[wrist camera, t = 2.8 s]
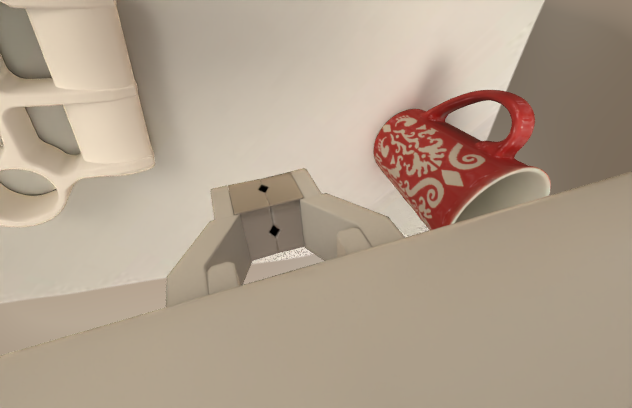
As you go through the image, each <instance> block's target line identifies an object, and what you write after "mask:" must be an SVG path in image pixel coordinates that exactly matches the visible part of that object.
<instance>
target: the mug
mask: <svg viewBox="0 0 632 408" xmlns="http://www.w3.org/2000/svg"><path fill="white" fill-rule="evenodd" d="M485 100H492V101H495V102H498V103H500V104H502V105H503V106H505V107H506V108H507V109H508V111H509V113H510V116H511V118H512V127H511V131H510V133H509V135H508V136H507V138H506V139H505V140H503V141H500V142H492V141H480V140H478V139H476V138H475V137H473V136H471V135H469V134H467V133H465V132H463V131H461V130H460V129H458V128H456V127H454V126H452V125H450V124H448V123H446V122H445V119H446V117H447V116H448V114H450V113H451V112H453V111H455V110H457V109H460V108H462V107H465V106H467V105H470V104H473V103H476V102H480V101H485ZM534 124H535V118H534V113H533V110H532V108H531V106H530V105H529V104H528V103H527V101H525V100H524V99H523V98H521V97H519V96H517V95H515V94H512V93H509V92H506V91H500V90H480V91H474V92H470V93H466V94H463V95H460V96H457V97H455V98H452V99H450V100H448V101H445V102H443V103H441V104H439V105H438V106H435V107H434V108H432V109H430V110H428V111H427V112H426V111H423V110H420V109H410V110H406V111H403V112H401V113H399V114H397V115H395V116H394V117H392V118H391V119H390V120H389V121H388V122H387V123H386V124H385V125H384V126H383V127H382V129H381V130H380V132H379V134H378V135H377V138H376V140H375V144H374V158H375V160H376V163H377V165H378V166H379V167H380V169H381V170H382V171H383V173H384V174H385V175H386V176H387V177H388V179H389V180H390V181H391V182H392V184H393V185H394V186H395V187H396V189H397V190H398V191H399V192H400V194H401V195H402V196H403V198H404V199H405V200H406V201H407V202H408V204H409V205H410V206H411V207H412V208H413V210H414V211H415V212H416V213H417V215H418V216H419V217H420V219H421V220H422V221H423V222H424V224H425V225H426V226H427V227H428V229H429V230H433V229H437V228H440V227H443V226H447V225H450V224H454V223H457V222H461V221H464V220H467V219H471V218H474V217H478V216H481V215H485V214H488V213H492V212H495V211H498V210H502V209H505V208H509V207H512V206H516V205H519V204H522V203H526V202H529V201H533V200H536V199H540V198H543V197H546V196H549V195H550V190H551V182H550V178H549V176H548V175H547V174H546V172H544V171H543V170H542V169H539V168H537V167H533V166H527V165H525V164H524V163H521V162H519V161H517V160H516V159H514V156H515V154H516V153H517V151H519V150H520V149H521V148H522V147H523V146H524V144H525V143H526V142H527V140H528V139H529V138H530V136H531V134H532V132H533V128H534Z"/></svg>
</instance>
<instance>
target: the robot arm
mask: <svg viewBox="0 0 632 408" xmlns="http://www.w3.org/2000/svg"><path fill="white" fill-rule="evenodd" d="M228 188H229V189H228ZM210 192H211V199H212V206H213V212H214V219H215V220H213V221H210V222H209V223H208V224H207V226H206V227H205V228H204V230H203V231H202V232H201V233H200V235H199V236H198V237H197V239H196V240H195V241H194V242H193V244H192V245H191V246H190V248H189V249H188V250H187V251H186V253H185V254H184V255H183V257H182V258H181V259H180V260H179V262H178V263H177V264H176V266H175V267H174V268H173V269H172V271H171V272H170V273H169V275H168V276H167V285H166V307H165V308H162V309H158V310H155V311H152V312H148V313H145V314H141V315H138V316H135V317H131V318H128V319H124V320H121V321H117V322H114V323H110V324H107V325H104V326H100V327H97V328H93V329H90V330H87V331H83V332H79V333H76V334H73V335H69V336H66V337H62V338H59V339H55V340H53V341H49V342H45V343H42V344H38V345H35V346H31V347H28V348H25V349H21V350H18V351H14V352H11V353H7V354H4V355H1V356H0V408H632V172H628V173H625V174H622V175H618V176H615V177H612V178H608V179H605V180H602V181H598V182H594V183H591V184H588V185H584V186H581V187H577V188H574V189H570V190H567V191H564V192H560V193H557V194H553V195H550V196H546V197H543V198H540V199H536V200H533V201H529V202H526V203H522V204H519V205H516V206H512V207H509V208H505V209H502V210H498V211H495V212H492V213H488V214H485V215H481V216H478V217H474V218H471V219H467V220H464V221H461V222H457V223H454V224H450V225H447V226H443V227H440V228H437V229H433V230H430V231H426V232H423V233H419V234H416V235H413V236H409V237H406V238H405V237H404V236H403V234H402V233H401V232H400V231H399V230H398V228H397V227H396V226H395V225H394V223H393V222H392V221H391V220H390V218H389V217H387V216H384V215H382V214H379V213H377V212H374V211H371V210H369V209H366V208H364V207H361V206H358V205H356V204H353V203H351V202H348V201H345V200H343V199H340V198H338V197H335V196H332V195H330V194H327V193H324V194H321V192H320V190H319V189H318V187H317V186H316V184H315V182H314V181H313V179H312V178H311V176H310V174H309V173H308V171H307V169H305V168H302V169H298V170H295V171H291V172H287V173H283V174H279V175H275V176H271V177H267V178H263V179H257V180H252V181H247V182H242V183H237V184H232V185H228V186H227V185H226V186H222V187H218V188H213V189H211V191H210ZM304 246H305V248H306V249H308V250H309V251H311V252H312V253H314V254H315V255H317V256H318V257H320V258H321V259H323V260H324V262H320V263H316V264H313V265H310V266H306V267H303V268H299V269H296V270H292V271H289V272H286V273H282V274H279V275H275V276H272V277H269V278H265V279H262V280H258V281H255V282H251V283H248V284H244V285H243V282H244V280H245V278H246V275H247V272H248V270H249V268H250V266H251V263H252V261H253V260H256V259H260V258H263V257H266V256H270V255H273V254H276V253H280V252H284V251H288V250H292V249H296V248H300V247H304Z"/></svg>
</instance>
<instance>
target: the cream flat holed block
mask: <svg viewBox="0 0 632 408" xmlns="http://www.w3.org/2000/svg"><path fill="white" fill-rule="evenodd" d="M0 1H1V2H3V3H4V4H6V5H8V6H10V7H12V8H25V9H26V12H27V14H28V17H29V19H30V22H31V24H32V27H33V30H34V32H35V35H36V37H37V40H38V43H39V45H40V48H41V50H42V53H43V56H44V58H45V61H46V63H47V66H48V69H49V71H50V74H51V76H52V78H43V79H24V78H20V77H18V76H16V75H14V74H13V73H11V72H10V71H9V70H8V68H7V67H6V65H5V63H4V61H3V58H2V56H1V54H0V136H1V138H2V140H3V144H4V145H2V146H0V171H4V170H9V169H22V170H27V171H31V172H34V173H37V174H39V175H41V176H43V177H45V178H46V179H48V180H49V181H50V182H51V183H52V184H53V185H54V186H55V188H56V190H55V191H52V192H50V193H47V194H44V195H39V196H28V195H22V194H19V193H16V192H13V191H11V190H9V189H8V188H6V187H5V186H3V185H2V184H1V183H0V226H6V227H29V226H35V225H39V224H42V223H45V222H47V221H49V220H51V219H53V218H54V217H56V216H57V215H58V214H59V213H60V212H61V211H62V210H63V208H64V207H65V205H66V203H67V200H68V198H69V196H70V193H71V191H72V189H73V186H74V184H75V183H76V182H77V181H78V180H79V179H82V178H92V177H101V176H123V175H130V174H135V173H139V172H142V171H145V170H148V169H151V168H152V167H154V166H155V160H154V152H153V149H152V148H151V144H150V140H149V136H148V132H147V128H146V124H145V120H144V116H143V112H142V108H141V104H140V100H139V96H138V92H137V91H138V87H137V83H136V81H135V80H134V76H133V71H132V67H131V63H130V59H129V55H128V51H127V47H126V43H125V39H124V35H123V31H122V27H121V23H120V19H119V15H118V11H117V7H116V4H117V2H116V0H0ZM52 105H63V107H64V110H65V113H66V115H67V118H68V120H69V123H70V125H71V128H72V131H73V133H74V136H75V138H76V141H77V144H78V146H79V149H80V151H81V153H80V154H78V155H69V154H66V153H64V152H63V151H62V150H60V149H58V148H57V147H55V146H52V145H50V144H47V143H45V142H43V141H42V140H40V139H39V137H38V135H37V133H36V131H35V129H34V127H33V124H32V122H31V120H30V118H29V116H28V113H27V111H26V109H25V107H33V106H52Z"/></svg>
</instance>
